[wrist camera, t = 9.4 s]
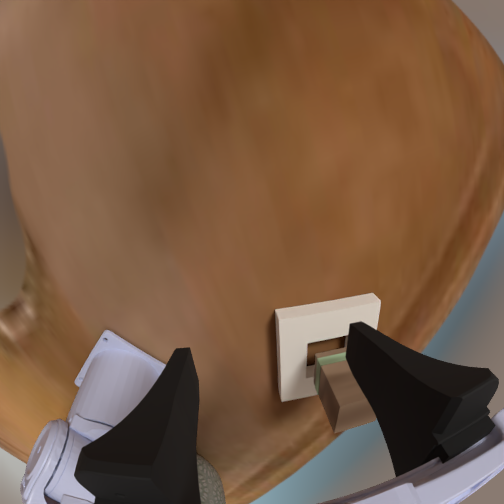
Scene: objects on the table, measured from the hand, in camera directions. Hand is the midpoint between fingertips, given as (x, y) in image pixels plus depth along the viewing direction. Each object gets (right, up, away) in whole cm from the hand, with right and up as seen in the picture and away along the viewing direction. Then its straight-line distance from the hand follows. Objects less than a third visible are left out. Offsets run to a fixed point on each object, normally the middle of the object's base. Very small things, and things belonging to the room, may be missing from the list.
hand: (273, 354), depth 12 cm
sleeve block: (+6, -4, +13) cm, 15 cm away
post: (+6, -5, +11) cm, 14 cm away
